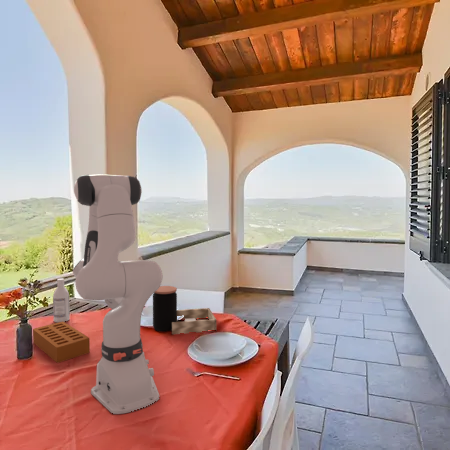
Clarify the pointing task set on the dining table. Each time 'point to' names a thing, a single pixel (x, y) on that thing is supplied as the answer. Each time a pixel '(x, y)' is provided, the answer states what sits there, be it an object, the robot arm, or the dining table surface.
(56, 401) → the dining table surface
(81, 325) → the dining table surface
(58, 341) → the brick
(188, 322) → the tray
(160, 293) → the coffee jar
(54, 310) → the bath foam
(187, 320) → the tile cream
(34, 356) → the dining table surface
